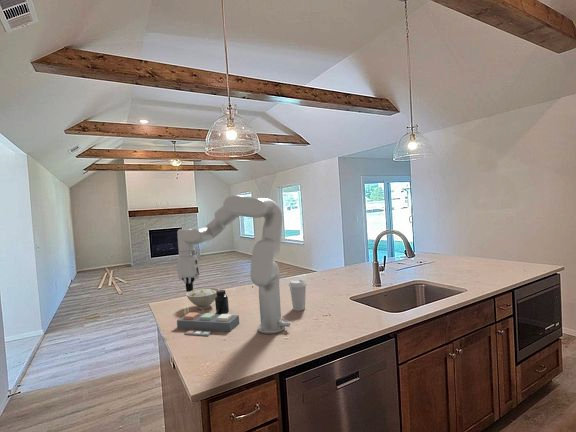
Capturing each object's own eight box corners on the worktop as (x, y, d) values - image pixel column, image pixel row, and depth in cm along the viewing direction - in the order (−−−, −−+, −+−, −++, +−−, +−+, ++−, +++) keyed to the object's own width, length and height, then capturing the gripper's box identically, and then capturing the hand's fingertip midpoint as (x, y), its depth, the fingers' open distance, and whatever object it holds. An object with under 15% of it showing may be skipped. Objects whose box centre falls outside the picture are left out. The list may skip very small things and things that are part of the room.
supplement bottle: (223, 309, 178) (222, 288, 177) (231, 312, 173) (230, 290, 173) (213, 313, 172) (211, 291, 172) (221, 316, 168) (219, 293, 167)
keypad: (239, 323, 156) (238, 315, 156) (230, 331, 146) (229, 323, 146) (189, 320, 164) (188, 313, 163) (177, 328, 154) (176, 320, 154)
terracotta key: (199, 318, 159) (199, 312, 159) (193, 322, 154) (193, 316, 154) (190, 318, 161) (190, 312, 160) (184, 322, 156) (183, 316, 155)
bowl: (179, 310, 181) (178, 293, 180) (203, 300, 198) (202, 284, 197) (205, 314, 172) (204, 296, 171) (228, 303, 189) (226, 286, 188)
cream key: (232, 320, 154) (231, 314, 154) (227, 324, 149) (226, 318, 149) (222, 319, 155) (222, 313, 155) (217, 324, 150) (216, 317, 150)
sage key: (215, 319, 157) (215, 313, 156) (210, 323, 152) (209, 317, 151) (206, 319, 158) (205, 313, 158) (200, 323, 153) (200, 316, 153)
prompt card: (212, 332, 146) (212, 331, 146) (207, 336, 143) (207, 334, 143) (189, 331, 150) (189, 329, 150) (184, 334, 146) (184, 333, 146)
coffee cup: (306, 311, 166) (305, 283, 166) (288, 311, 168) (287, 283, 168) (309, 305, 176) (307, 278, 175) (292, 305, 178) (290, 279, 177)
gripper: (204, 252, 157) (207, 289, 158) (178, 252, 162) (181, 288, 162) (196, 255, 150) (198, 293, 151) (169, 255, 154) (171, 292, 155)
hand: (189, 290), depth 157 cm, fingers closed
